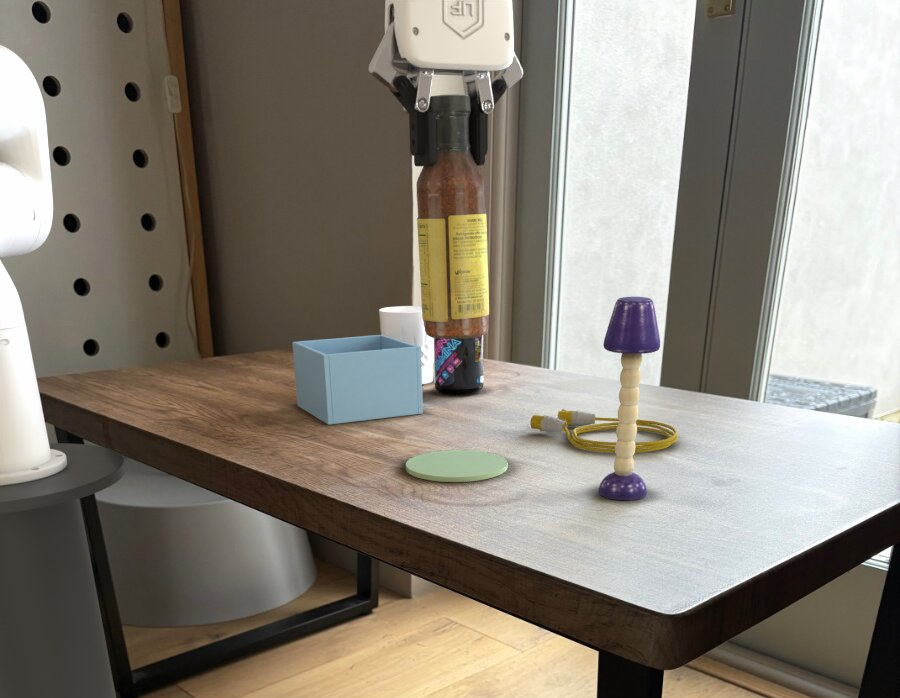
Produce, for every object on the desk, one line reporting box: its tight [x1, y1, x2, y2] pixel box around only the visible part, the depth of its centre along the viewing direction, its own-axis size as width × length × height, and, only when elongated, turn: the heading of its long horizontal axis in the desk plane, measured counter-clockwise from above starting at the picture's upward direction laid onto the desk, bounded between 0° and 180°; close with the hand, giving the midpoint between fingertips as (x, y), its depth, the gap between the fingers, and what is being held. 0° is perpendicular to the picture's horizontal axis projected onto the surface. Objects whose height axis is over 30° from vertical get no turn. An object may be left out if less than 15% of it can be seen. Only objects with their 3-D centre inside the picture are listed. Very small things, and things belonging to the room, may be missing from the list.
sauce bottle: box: [416, 93, 490, 339], centre depth 83 cm, size 7×6×20 cm
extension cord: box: [530, 409, 679, 454], centre depth 101 cm, size 12×16×2 cm
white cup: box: [378, 305, 434, 385], centre depth 131 cm, size 8×8×10 cm
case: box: [292, 334, 424, 426], centre depth 115 cm, size 12×12×8 cm
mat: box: [405, 449, 509, 483], centre depth 91 cm, size 10×10×1 cm
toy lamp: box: [598, 296, 661, 501], centre depth 79 cm, size 5×5×17 cm
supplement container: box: [433, 335, 484, 397], centre depth 124 cm, size 7×7×10 cm
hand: (449, 163), depth 81 cm, fingers closed on sauce bottle, 4 cm apart
